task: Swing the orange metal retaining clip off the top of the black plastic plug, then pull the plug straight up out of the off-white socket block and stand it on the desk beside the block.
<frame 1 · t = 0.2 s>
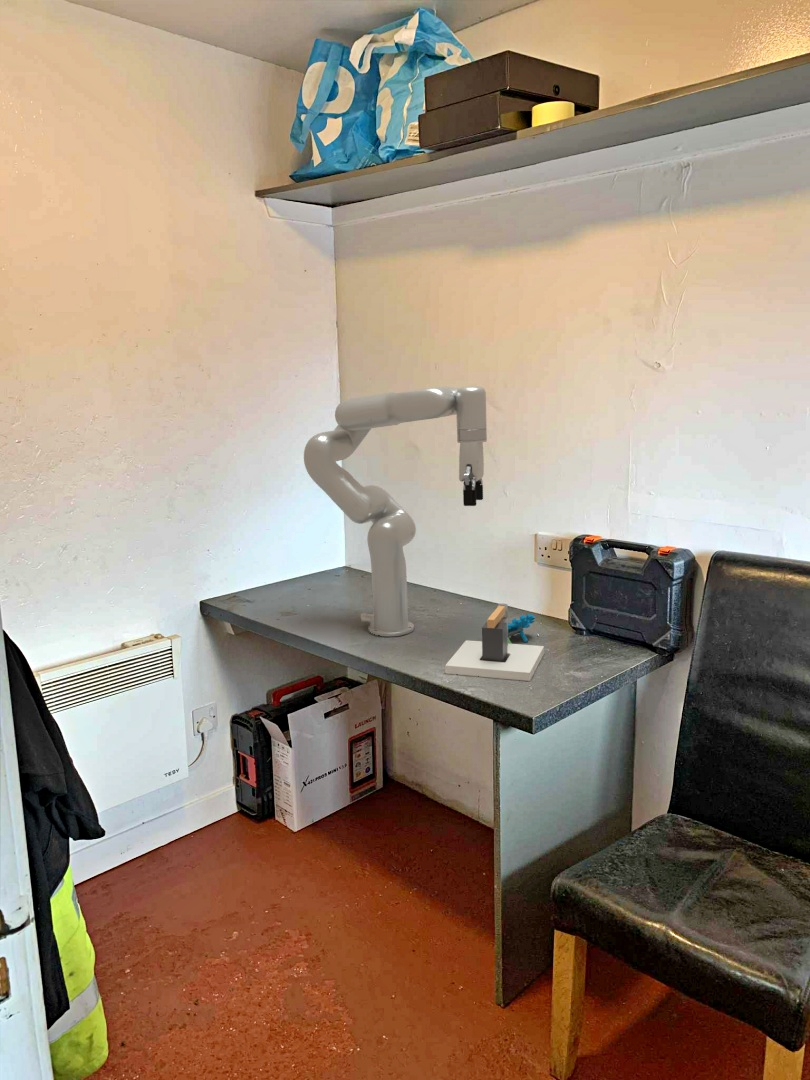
hand: (473, 502, 212), 36 cm above the table, tool pointing down, fingers open, 9 cm apart
blue spiky figurine: (516, 640, 216), on the table
clip: (497, 617, 199), point 11 cm above the table, hinge at 0.0°
plug: (495, 664, 198), resting in socket block
socket block: (496, 663, 199), on the table
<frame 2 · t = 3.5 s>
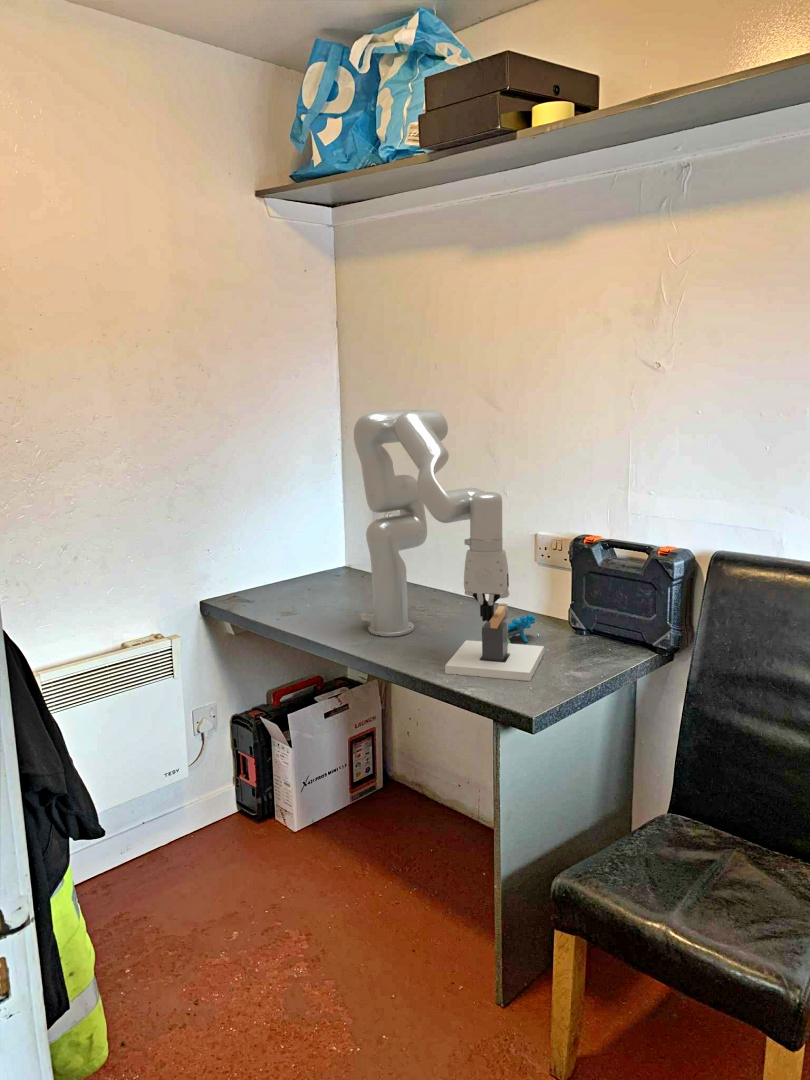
hand: (487, 619, 196), 11 cm above the table, tool pointing down, fingers closed
clip: (498, 617, 199), point 11 cm above the table, hinge at 3.4°, touching gripper
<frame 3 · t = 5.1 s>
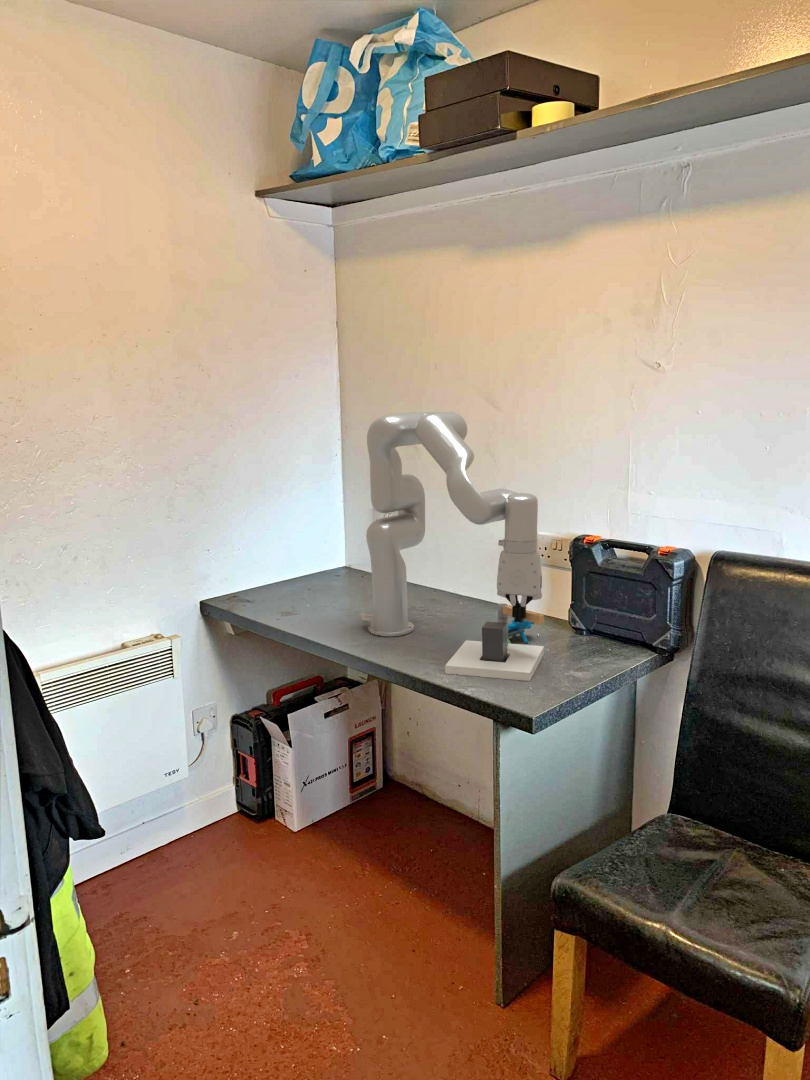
hand: (518, 620, 196), 11 cm above the table, tool pointing down, fingers closed
clip: (519, 615, 199), point 11 cm above the table, hinge at 57.0°, touching gripper
everything else where it was.
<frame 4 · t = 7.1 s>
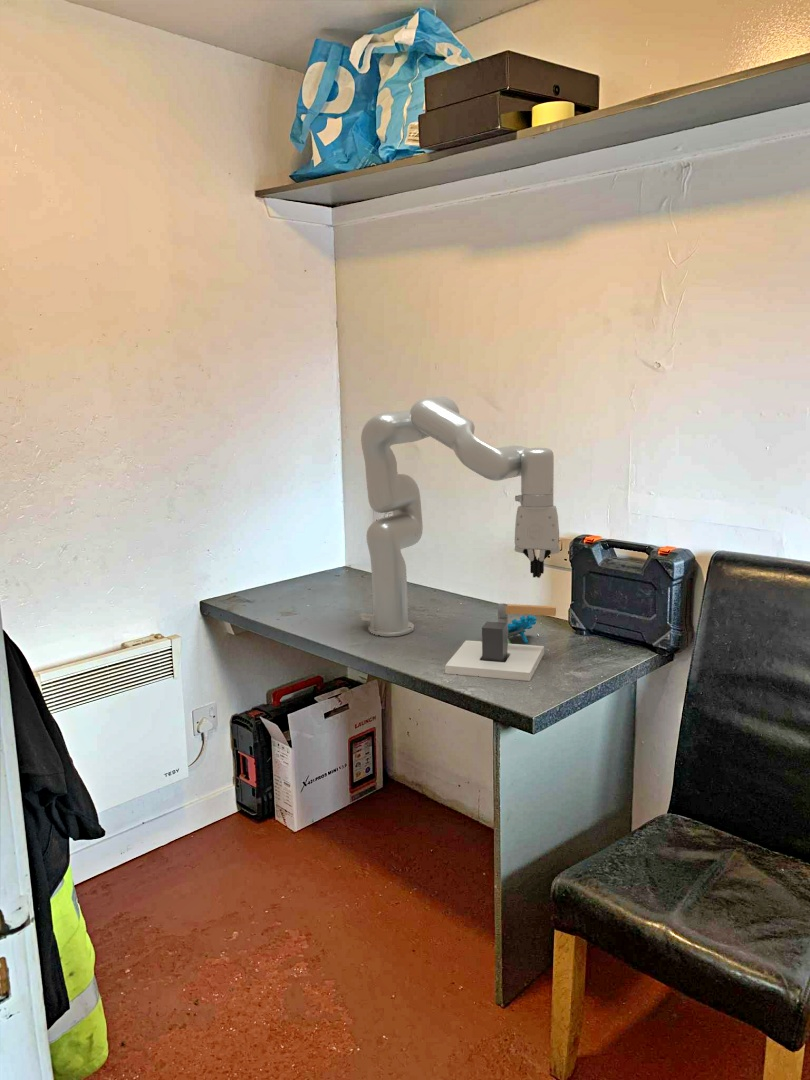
hand: (537, 576, 197), 21 cm above the table, tool pointing down, fingers closed
clip: (526, 611, 202), point 11 cm above the table, hinge at 93.2°
everything else where it was.
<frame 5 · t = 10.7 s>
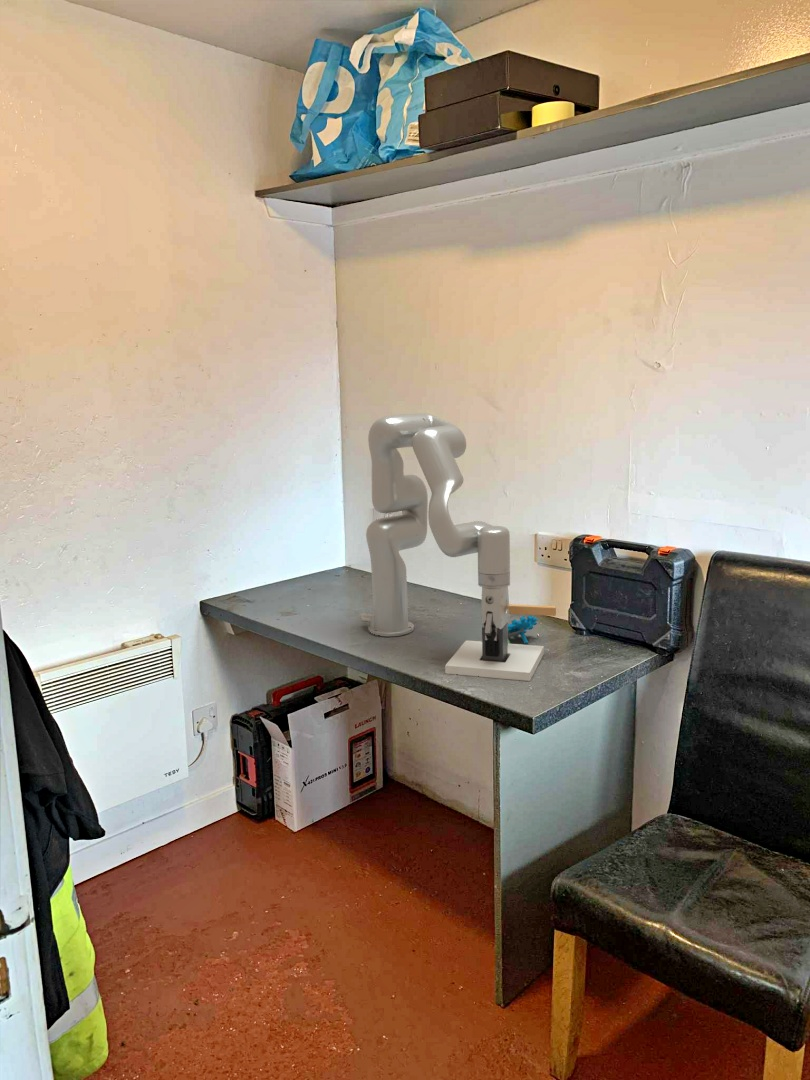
hand: (495, 651, 197), 3 cm above the table, tool pointing down, fingers closed on plug, 5 cm apart
plug: (495, 664, 198), resting in socket block, touching gripper
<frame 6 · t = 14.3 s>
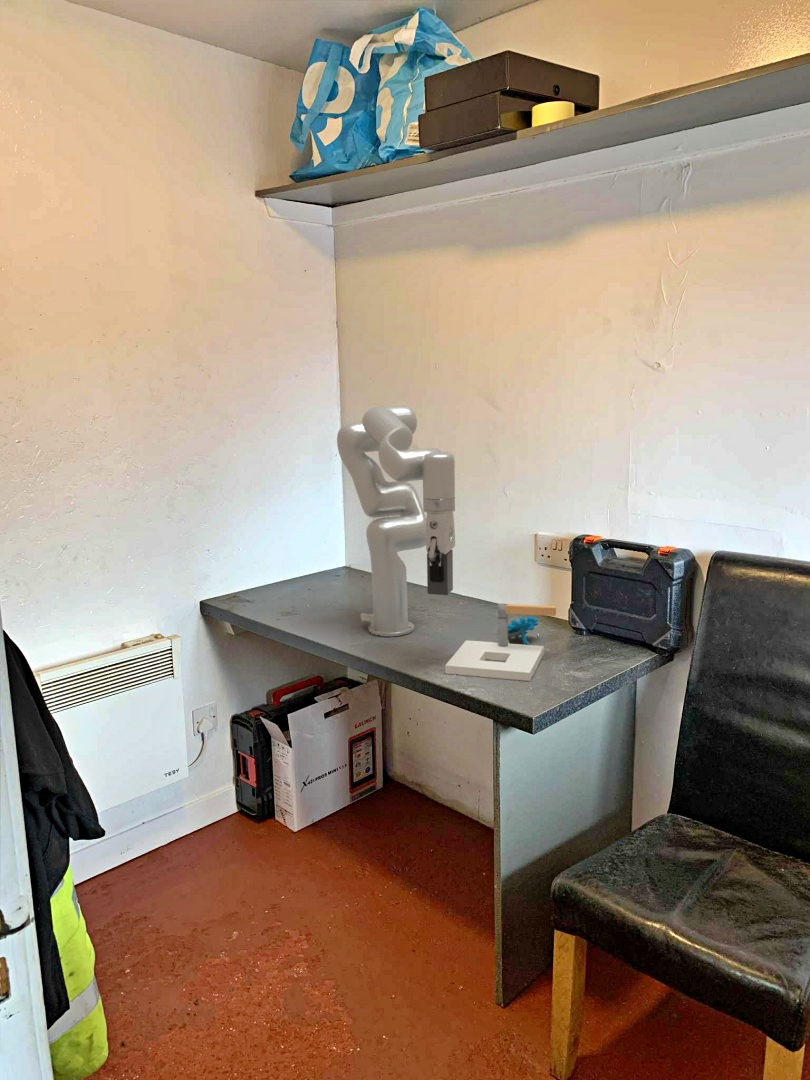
hand: (440, 577, 199), 21 cm above the table, tool pointing down, fingers closed on plug, 5 cm apart
plug: (440, 591, 199), point 17 cm above the table, touching gripper
when the fingers open (5 cm above the table, at t = 18.1 s): plug drops 1 cm, on the table.
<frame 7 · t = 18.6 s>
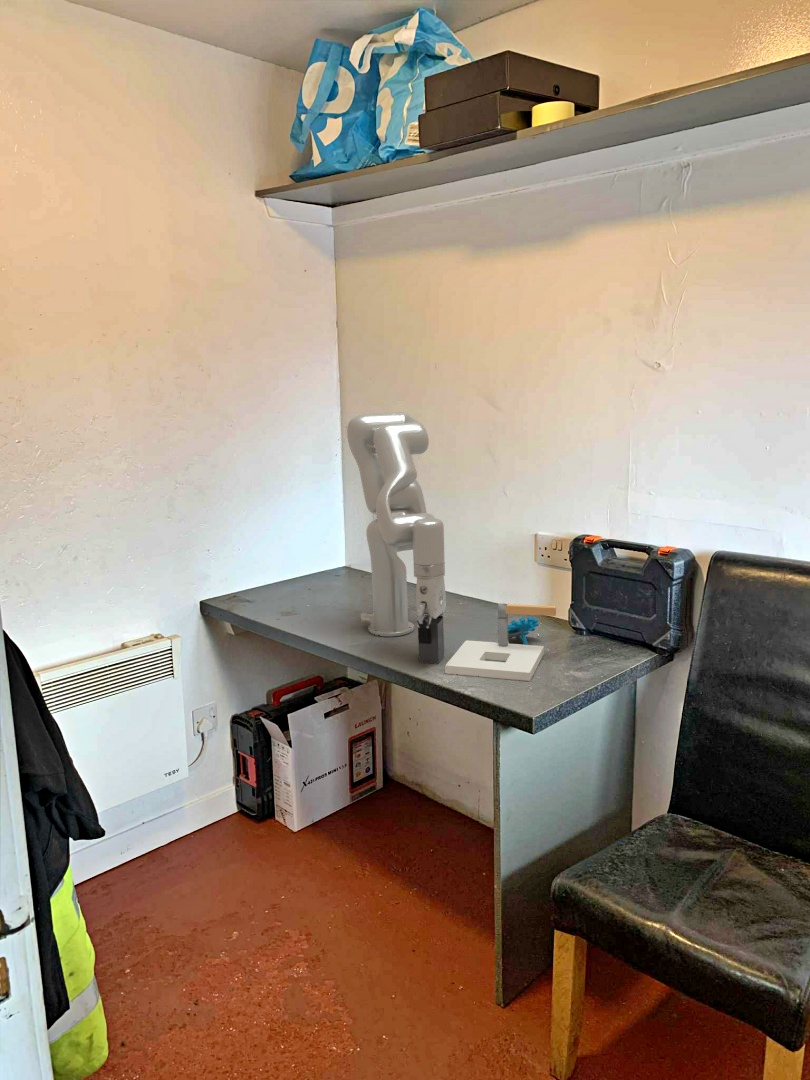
hand: (431, 637, 202), 6 cm above the table, tool pointing down, fingers open, 9 cm apart
plug: (431, 659, 203), on the table
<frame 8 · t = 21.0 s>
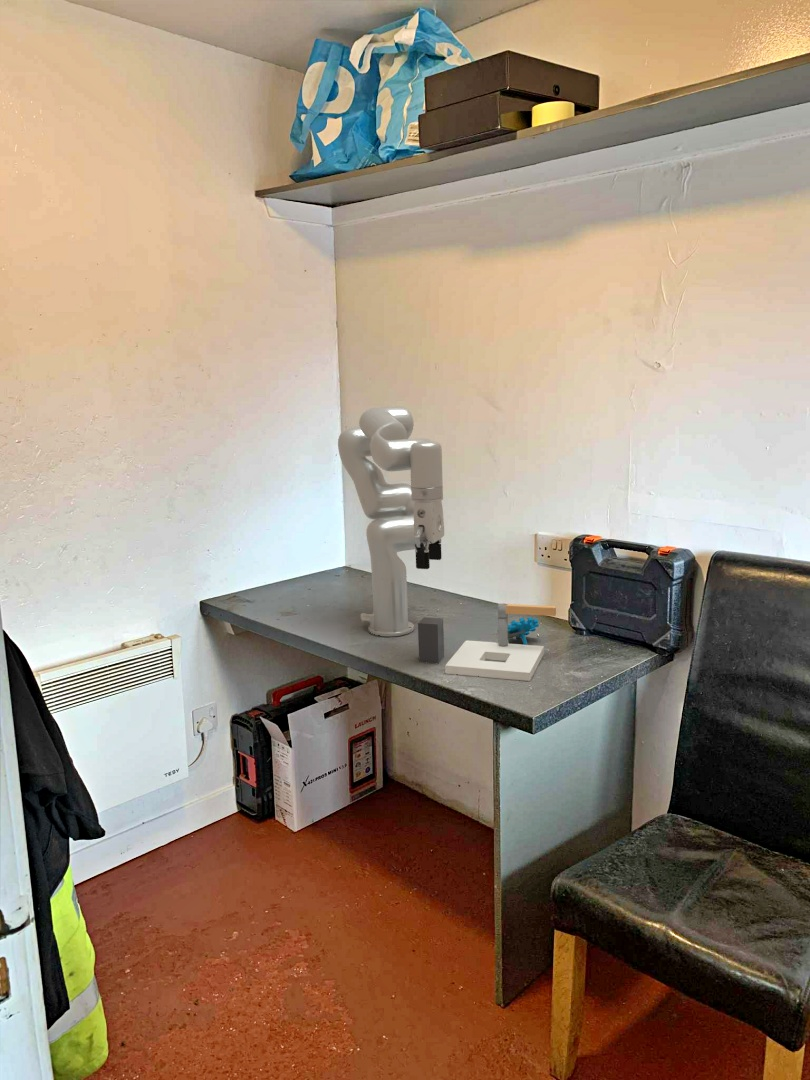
hand: (429, 563, 198), 24 cm above the table, tool pointing down, fingers open, 9 cm apart
at the end: clip at +93° (first picture: +0°); plug inside the target area (0.1 cm from its centre), on the table; plug tilted 0° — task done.
